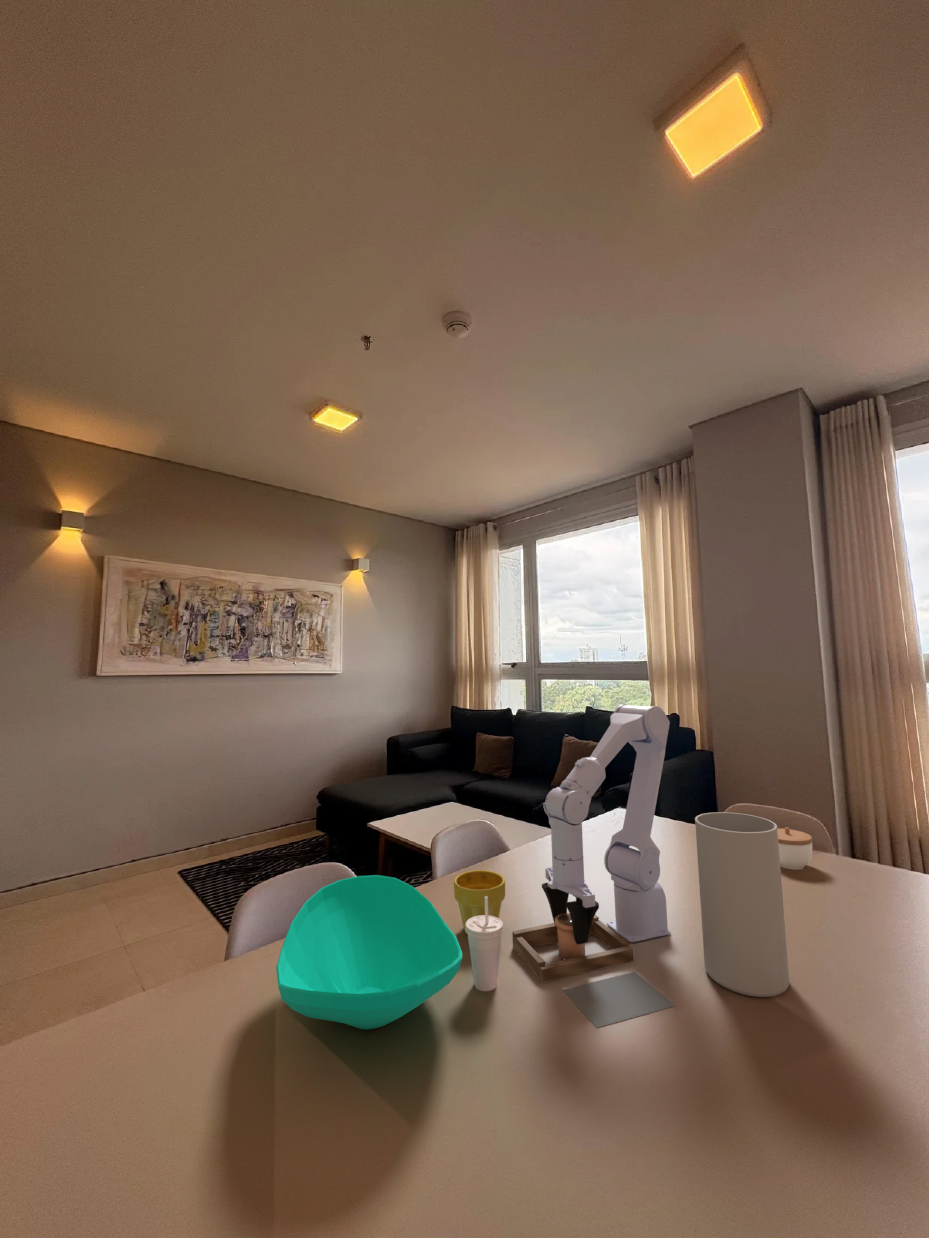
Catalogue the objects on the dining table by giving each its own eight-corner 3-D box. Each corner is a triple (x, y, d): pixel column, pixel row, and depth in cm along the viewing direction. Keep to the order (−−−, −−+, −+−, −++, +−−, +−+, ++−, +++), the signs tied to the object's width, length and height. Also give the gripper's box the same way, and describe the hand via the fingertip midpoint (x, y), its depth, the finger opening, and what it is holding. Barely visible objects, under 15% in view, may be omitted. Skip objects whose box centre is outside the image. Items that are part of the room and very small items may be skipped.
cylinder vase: (721, 949, 98) (711, 808, 100) (799, 975, 89) (786, 820, 92) (692, 978, 89) (683, 823, 92) (776, 1010, 80) (763, 837, 83)
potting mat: (635, 973, 91) (635, 971, 91) (676, 1007, 82) (676, 1005, 82) (562, 991, 87) (562, 989, 87) (597, 1029, 77) (597, 1027, 77)
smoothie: (493, 1000, 84) (490, 907, 86) (459, 988, 88) (456, 899, 89) (511, 980, 90) (509, 893, 91) (478, 969, 93) (476, 886, 95)
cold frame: (595, 930, 106) (595, 914, 106) (633, 960, 95) (632, 942, 95) (512, 948, 100) (512, 931, 100) (542, 982, 89) (542, 963, 89)
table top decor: (500, 1082, 68) (497, 971, 69) (267, 1143, 60) (268, 1016, 61) (429, 936, 105) (428, 866, 107) (280, 961, 97) (281, 885, 99)
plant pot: (502, 944, 102) (501, 890, 103) (449, 940, 104) (448, 887, 105) (509, 919, 112) (507, 870, 113) (460, 916, 114) (459, 868, 115)
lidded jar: (756, 862, 140) (754, 825, 141) (783, 855, 145) (780, 819, 146) (797, 876, 131) (793, 836, 132) (824, 868, 135) (821, 830, 136)
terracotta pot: (577, 944, 101) (575, 911, 102) (593, 959, 96) (591, 923, 96) (550, 950, 99) (549, 916, 100) (565, 965, 94) (564, 929, 95)
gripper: (530, 846, 105) (532, 919, 103) (568, 872, 91) (571, 956, 90) (562, 842, 107) (565, 913, 106) (604, 866, 93) (607, 948, 92)
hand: (570, 932), depth 98 cm, fingers open, 7 cm apart
